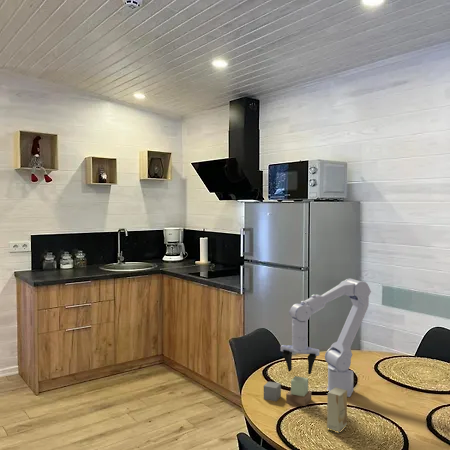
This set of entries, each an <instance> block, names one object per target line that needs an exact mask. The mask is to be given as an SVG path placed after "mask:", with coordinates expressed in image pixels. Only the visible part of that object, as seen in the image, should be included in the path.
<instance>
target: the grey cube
mask: <svg viewBox="0 0 450 450" xmlns="http://www.w3.org/2000/svg"><path fill="white" fill-rule="evenodd" d="M281 397H282V383H280V382H274V381H267V382H266V383H265V384H264V385H263V400H265V401H266V400H267V401H271V402H277V401H278V400H279V399H280V398H281Z"/></svg>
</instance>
